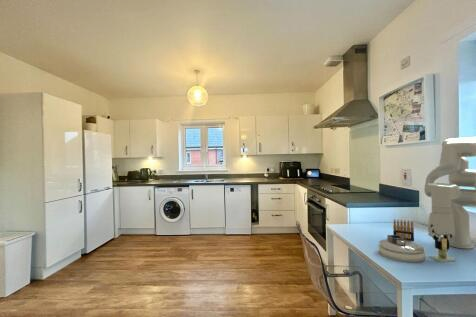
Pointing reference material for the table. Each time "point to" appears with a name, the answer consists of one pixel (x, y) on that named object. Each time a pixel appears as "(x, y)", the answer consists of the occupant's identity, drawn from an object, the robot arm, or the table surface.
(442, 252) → the brass rounded cylinder
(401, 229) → the ammunition clip
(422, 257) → the chuck housing
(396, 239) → the grey round shallow disc
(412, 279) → the table surface
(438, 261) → the mat
